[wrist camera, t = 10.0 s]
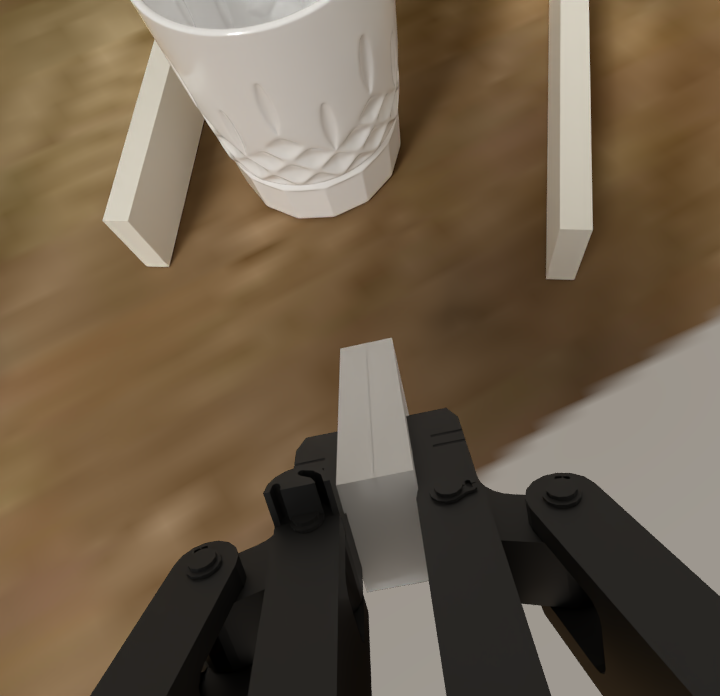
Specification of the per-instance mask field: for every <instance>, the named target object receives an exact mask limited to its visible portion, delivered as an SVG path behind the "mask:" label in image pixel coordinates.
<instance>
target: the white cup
mask: <svg viewBox="0 0 720 696" xmlns="http://www.w3.org/2000/svg"><path fill="white" fill-rule="evenodd" d="M130 1H131V2H132V4H133V6H134V7H135V9H136V10H137V12H138V14H139V15H140V17H141V18H142V20H143V22H144V23H145V25H146V26H147V28H148V30H149V31H150V33H151V34H152V36H153V38H154V39H155V41H156V42H157V44H158V46H159V47H160V49H161V51H162V52H163V54H164V55H165V57H166V59H167V60H168V62H169V64H170V65H171V67H172V68H173V70H174V72H175V73H176V75H177V77H178V78H179V80H180V81H181V83H182V85H183V86H184V88H185V90H186V91H187V93H188V95H189V96H190V98H191V99H192V101H193V103H194V104H195V106H196V107H197V108H198V109H199V110H200V112H201V114H202V115H203V117H204V119H205V120H206V122H207V123H208V125H209V127H210V128H211V130H212V131H213V132H214V134H215V135H216V137H217V138H218V140H219V142H220V143H221V145H222V146H223V148H224V149H225V151H226V152H227V154H228V155H229V157H230V158H231V159H232V160H233V161H235V162H236V164H237V166H238V167H239V169H240V171H241V172H242V174H243V176H244V177H245V179H246V181H247V182H248V184H249V185H250V186H251V187H252V188H253V190H254V191H255V192H256V193H257V194H258V196H259V197H260V198H261V199H262V200H263V202H264V203H265V204H266V205H267V206H268V207H271V208H273V209H276V210H278V211H281V212H283V213H286V214H288V215H291V216H293V217H296V218H320V217H335V216H337V215H339V214H342V213H344V212H346V211H348V210H350V209H353V208H355V207H357V206H359V205H361V204H363V203H366V202H368V201H369V200H370V199H371V198H372V196H373V195H374V194H375V193H376V192H377V191H378V190H379V189H380V188H381V187H382V186H383V185H384V183H385V182H386V181H387V180H388V179H389V178H390V177H391V176H392V173H393V169H394V166H395V162H396V159H397V156H398V152H399V149H400V145H401V141H400V128H399V115H398V102H399V70H398V33H397V16H396V1H395V0H130Z"/></svg>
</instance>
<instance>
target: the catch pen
mask: <svg viewBox="0 0 720 696" xmlns="http://www.w3.org/2000/svg"><path fill="white" fill-rule="evenodd" d="M203 123H204V117H203V115H202V114H201V112H200V110H199V109H198V108H197V107H196V106H195V104H194V103H193V101H192V99H191V98H190V96H189V95H188V93H187V91H186V90H185V88H184V86H183V85H182V83H181V81H180V80H179V78H178V77H177V75H176V73H175V72H174V70H173V68H172V67H171V65H170V64H169V62H168V60H167V59H166V57H165V55H164V54H163V52H162V51H161V49H160V47H159V46H158V44H157V42H156V41H155V40H154V43H153V47H152V50H151V54H150V57H149V60H148V64H147V67H146V71H145V74H144V78H143V81H142V85H141V88H140V92H139V95H138V99H137V102H136V106H135V109H134V113H133V116H132V120H131V123H130V127H129V130H128V134H127V137H126V141H125V144H124V148H123V151H122V155H121V158H120V162H119V165H118V169H117V172H116V176H115V179H114V182H113V186H112V189H111V193H110V196H109V200H108V203H107V207H106V210H105V214H104V217H103V222H104V223H105V224H106V225H107V226H108V227H109V228H110V229H111V230H112V231H113V232H114V233H115V234H116V235H117V236H118V237H119V238H120V239H121V240H122V241H123V242H124V243H125V244H126V245H127V247H128V248H129V249H130V250H131V251H132V252H133V253H134V254H135V255H136V256H137V257H138V258H139V259H140V260H141V261H142V262H143V263H144V264H145V265H146V266H153V267H169V265H170V261H171V257H172V253H173V249H174V244H175V240H176V236H177V232H178V228H179V224H180V219H181V215H182V211H183V207H184V203H185V198H186V194H187V190H188V186H189V182H190V177H191V173H192V169H193V165H194V161H195V156H196V152H197V148H198V144H199V140H200V136H201V131H202V127H203ZM592 231H593V213H592V155H591V97H590V39H589V0H549V62H548V151H547V240H546V279H561V280H574V279H575V276H576V274H577V271H578V268H579V266H580V263H581V260H582V258H583V255H584V252H585V249H586V247H587V244H588V241H589V239H590V236H591V233H592Z"/></svg>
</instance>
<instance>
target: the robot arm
mask: <svg viewBox="0 0 720 696" xmlns="http://www.w3.org/2000/svg"><path fill="white" fill-rule="evenodd" d="M263 494H264V497H265V500H266V503H267V506H268V508H269V511H270V514H271V517H272V520H273V523H274V526H275V529H274V535H273V536H272V537H271V538H269V539H268V540H266V541H265V542H263V543H261V544H259V545H257V546H255V547H252V548H250V549H248V550H245V551H243V552H241V553H238V552H237V549H236V547H235V546H233V545H232V544H231V543H229V542H224V541H214V542H208V543H205V544H202V545H200V546H198V547H195V548H193V549H192V550H190V551H189V552H187V553H186V554H185V555H183V556H182V557H181V558H180V559H179V560H178V562H177V563H176V564H175V565H174V566H173V568H172V569H171V571H170V573H169V574H168V576H167V577H166V579H165V580H164V582H163V583H162V585H161V587H160V588H159V590H158V591H157V593H156V594H155V596H154V597H153V599H152V601H151V602H150V604H149V605H148V607H147V608H146V610H145V611H144V613H143V615H142V616H141V618H140V619H139V621H138V622H137V624H136V625H135V627H134V629H133V630H132V632H131V633H130V635H129V636H128V638H127V639H126V641H125V643H124V644H123V646H122V647H121V649H120V650H119V652H118V653H117V655H116V657H115V658H114V660H113V661H112V663H111V664H110V666H109V667H108V669H107V671H106V672H105V674H104V675H103V677H102V678H101V680H100V681H99V683H98V684H97V686H96V688H95V689H94V691H93V692H92V694H91V695H90V696H372V691H371V665H370V643H369V641H370V640H369V615H368V609H367V606H366V603H365V599H364V596H363V580H364V584H365V587H366V590H367V592H372V591H377V590H383V589H388V588H394V587H399V586H405V585H410V584H415V583H421V582H426V581H429V585H430V591H431V598H432V604H433V611H434V617H435V623H436V630H437V637H438V643H439V649H440V656H441V662H442V669H443V675H444V682H445V688H446V695H447V696H551V694H550V691H549V688H548V685H547V682H546V678H545V675H544V672H543V669H542V666H541V664H540V660H539V657H538V654H537V651H536V647H535V644H534V641H533V638H532V635H531V632H530V629H529V626H528V623H527V620H526V617H525V613H524V610H523V607H522V605H521V604H532V605H541V606H542V609H543V611H544V613H545V615H546V617H547V618H548V619H549V621H550V622H551V624H552V625H553V626H554V628H555V629H556V631H557V632H558V633H559V635H560V636H561V638H562V639H563V640H564V642H565V643H566V645H567V646H568V647H569V649H570V650H571V652H572V653H573V654H574V656H575V657H576V659H577V660H578V662H579V663H580V664H581V666H582V667H583V669H584V670H585V671H586V673H587V674H588V676H589V677H590V678H591V680H592V681H593V683H594V684H595V685H596V687H597V688H598V689H599V691H600V692H601V694H602V695H603V696H720V596H719V595H718V594H716V592H714V591H713V590H712V589H711V588H710V587H709V586H708V585H706V583H704V582H703V581H702V580H701V579H700V578H699V577H698V576H697V575H696V574H695V573H693V572H692V571H691V570H690V569H689V568H688V567H687V566H686V565H685V564H683V563H682V562H681V561H680V560H679V559H678V558H677V557H676V556H675V555H674V554H672V553H671V552H670V551H669V550H668V549H667V548H666V547H664V545H663V544H661V543H660V542H659V541H658V540H657V539H656V538H655V537H654V536H652V534H650V533H649V532H648V531H647V530H646V529H645V528H644V527H643V526H641V525H640V524H639V523H638V522H637V521H636V520H635V519H634V518H633V517H632V516H631V515H629V514H628V513H627V512H626V511H624V509H623V508H622V507H621V506H619V505H618V504H617V503H616V502H615V501H614V500H613V499H612V498H611V497H610V496H609V495H607V494H606V493H605V492H604V491H603V490H602V489H601V488H600V487H598V486H597V485H596V484H595V483H594V482H592V481H591V480H589V479H587V478H586V477H584V476H580V475H576V474H572V473H555V474H551V475H546V476H543V477H541V478H539V479H537V480H535V481H533V482H532V483H531V485H530V486H529V487H528V488H527V490H526V495H513V494H503V493H500V492H496V491H493V490H491V489H489V488H487V487H485V486H484V485H483V484H482V483H481V482H480V481H479V479H478V477H477V475H476V472H475V469H474V465H473V462H472V459H471V456H470V453H469V450H468V447H467V444H466V441H465V437H464V434H463V431H462V428H461V425H460V422H459V419H458V416H456V415H455V414H454V413H452V412H451V411H450V410H448V409H447V408H443V409H438V410H433V411H428V412H424V413H419V414H414V415H409V413H408V408H407V404H406V399H405V395H404V390H403V386H402V381H401V377H400V372H399V368H398V363H397V359H396V354H395V350H394V345H393V341H392V338H388V339H383V340H379V341H374V342H369V343H365V344H360V345H355V346H351V347H346V348H341V349H340V377H339V408H338V432H333V433H328V434H323V435H318V436H313V437H308V438H306V439H305V440H304V441H303V443H302V444H301V445H300V447H299V448H298V449H297V451H296V457H295V466H294V469H292V470H288V471H286V472H284V473H282V474H280V475H279V476H277V477H275V478H274V479H273V480H272V481H271V482H270V483H269V484H268V485H267V487H266V489H265V491H264V493H263ZM362 579H363V580H362Z"/></svg>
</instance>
